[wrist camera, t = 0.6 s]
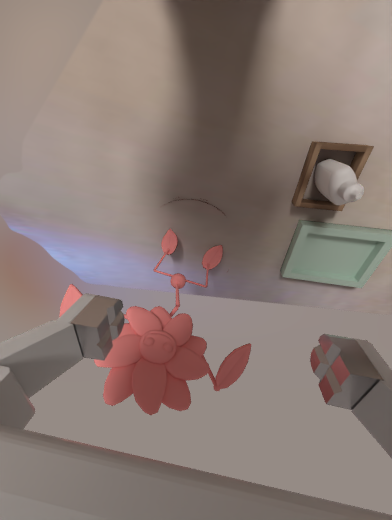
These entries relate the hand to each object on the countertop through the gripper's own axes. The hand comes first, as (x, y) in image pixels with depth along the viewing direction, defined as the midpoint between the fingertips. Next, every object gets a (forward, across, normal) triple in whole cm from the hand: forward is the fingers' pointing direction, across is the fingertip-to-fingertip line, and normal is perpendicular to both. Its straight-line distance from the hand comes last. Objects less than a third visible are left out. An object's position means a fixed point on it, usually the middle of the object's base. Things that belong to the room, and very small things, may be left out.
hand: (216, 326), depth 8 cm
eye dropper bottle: (+35, -17, -4) cm, 39 cm away
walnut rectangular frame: (+35, -17, -4) cm, 39 cm away
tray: (+36, -24, +10) cm, 45 cm away
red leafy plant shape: (+37, +5, +10) cm, 39 cm away
